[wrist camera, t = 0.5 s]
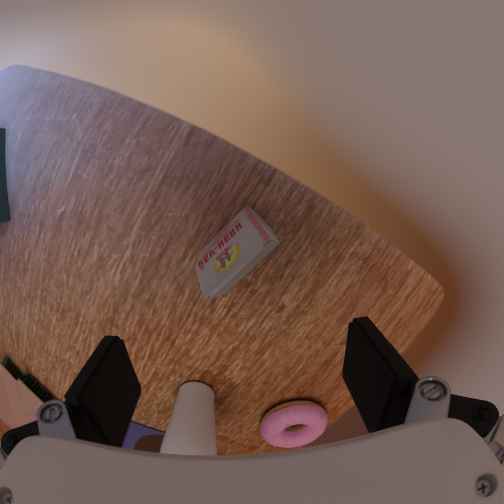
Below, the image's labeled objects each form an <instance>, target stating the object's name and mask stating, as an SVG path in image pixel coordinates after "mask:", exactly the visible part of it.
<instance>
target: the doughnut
mask: <svg viewBox="0 0 504 504" xmlns="http://www.w3.org/2000/svg"><path fill="white" fill-rule="evenodd" d="M327 422H329V421H328V416H327V413H326V412H325V411H324V409H323V408H322V407H321V406H320V405H318V404H316V403H314V402H310V401H291V402H287V403H283V404H281V405H278V406H276V407H274V408H273V409H271V410H270V411H269V412H267V413H266V415H265V416H264V417H263V419H262V421H261V425H260V432H261V435H262V437H263V438H264V440H265V441H267V442H268V443H270V444H271V446H272V445H274V446H275V447H276V446H278V447H285V448H290V447H291V448H292V447H298V446H302V445H306V444H307V443H310V442H312V441H313V440H315V439H316V438H318V437H319V436H320V435H321V434H322V433H323V432H324V430H325V429H326V427H327ZM296 424H299V425H297V426H296ZM292 425H295V426H292ZM291 426H292V427H291Z"/></svg>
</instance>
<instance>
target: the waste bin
mask: <svg viewBox="0 0 504 504" xmlns="http://www.w3.org/2000/svg"><path fill="white" fill-rule="evenodd" d="M8 220H10V214H9V206H8V198H7V188H6V175H5V129H2V128H0V223H2V222H5V221H8Z"/></svg>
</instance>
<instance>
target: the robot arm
mask: <svg viewBox="0 0 504 504" xmlns="http://www.w3.org/2000/svg"><path fill="white" fill-rule="evenodd" d="M342 375H343V379H344V381H345V383H346V385H347V388H348V390H349V392H350V394H351V396H352V398H353V400H354V402H355V404H356V406H357V408H358V410H359V413H360V415H361V417H362V419H363V421H364V423H365V425H366V428H367V430H368V432H369V434H366V435H363V436H359V437H355V438H351V439H347V440H342V441H338V442H333V443H329V444H324V445H319V446H314V447H308V448H302V449H295V450H288V451H280V452H271V453H261V454H247V455H219V456H207V455H180V454H166V453H156V452H147V451H139V450H132V449H126V448H122V445H123V442H124V439H125V436H126V433H127V430H128V427H129V424H130V421H131V419H132V416H133V413H134V410H135V407H136V405H137V402H138V399H139V397H140V394H141V386H140V383H139V381H138V378H137V376H136V373H135V371H134V368H133V366H132V363H131V360H130V358H129V355H128V352H127V350H126V347H125V344H124V341H123V340H122V339H120V338H119V337H118V336H105V337H104V338H103V339H102V341H101V342H100V343H99V345H98V346H97V348H96V349H95V350H94V352H93V353H92V355H91V356H90V358H89V359H88V361H87V362H86V364H85V365H84V367H83V368H82V369H81V371H80V372H79V374H78V375H77V377H76V379H75V380H74V382H73V383H72V385H71V386H70V388H69V389H68V391H67V392H66V394H65V396H64V397H65V399H66V400H65V402H64V403H63V402H62V401H60V400H49V401H47V402H45V403H43V404H42V405H41V406H40V407H39V408H38V411H37V420H35V421H33V422H30V423H28V424H25V425H22V426H20V427H17V428H14V429H12V430H9V431H7V432H6V433H5V434H4V435H3V437H2V439H1V447H0V504H504V414H503V415H502V417H500V416H499V412H498V410H497V408H496V406H495V405H494V404H492V403H491V402H488V401H484V400H478V399H473V398H468V397H463V396H457V395H453V394H451V389H450V386H449V384H448V383H447V382H446V381H444V380H443V379H441V378H439V377H435V376H428V377H424V378H422V379H419V378H418V377H417V375H416V374H415V373H414V372H413V370H412V369H411V368H410V367H409V365H408V364H407V363H406V362H405V360H404V359H403V358H402V357H401V355H400V354H399V353H398V352H397V351H396V349H395V348H394V347H393V346H392V345H391V344H390V343H389V342H388V340H387V339H386V338H385V337H384V336H383V334H382V333H381V332H380V331H379V330H378V328H377V327H376V326H375V325H374V324H373V322H372V321H371V320H370V319H369V318H368V317H367V316H365V317H359V318H354V319H353V321H352V322H350V323H349V326H348V334H347V343H346V350H345V357H344V364H343V371H342Z"/></svg>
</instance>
